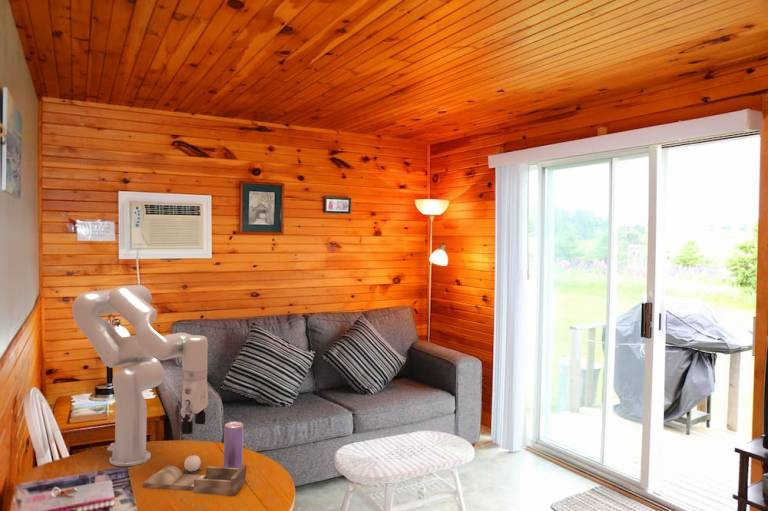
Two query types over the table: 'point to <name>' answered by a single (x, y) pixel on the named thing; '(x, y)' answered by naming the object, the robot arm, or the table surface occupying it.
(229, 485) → the lane
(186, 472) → the grey piece
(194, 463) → the ball
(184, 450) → the table surface
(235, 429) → the beverage can
